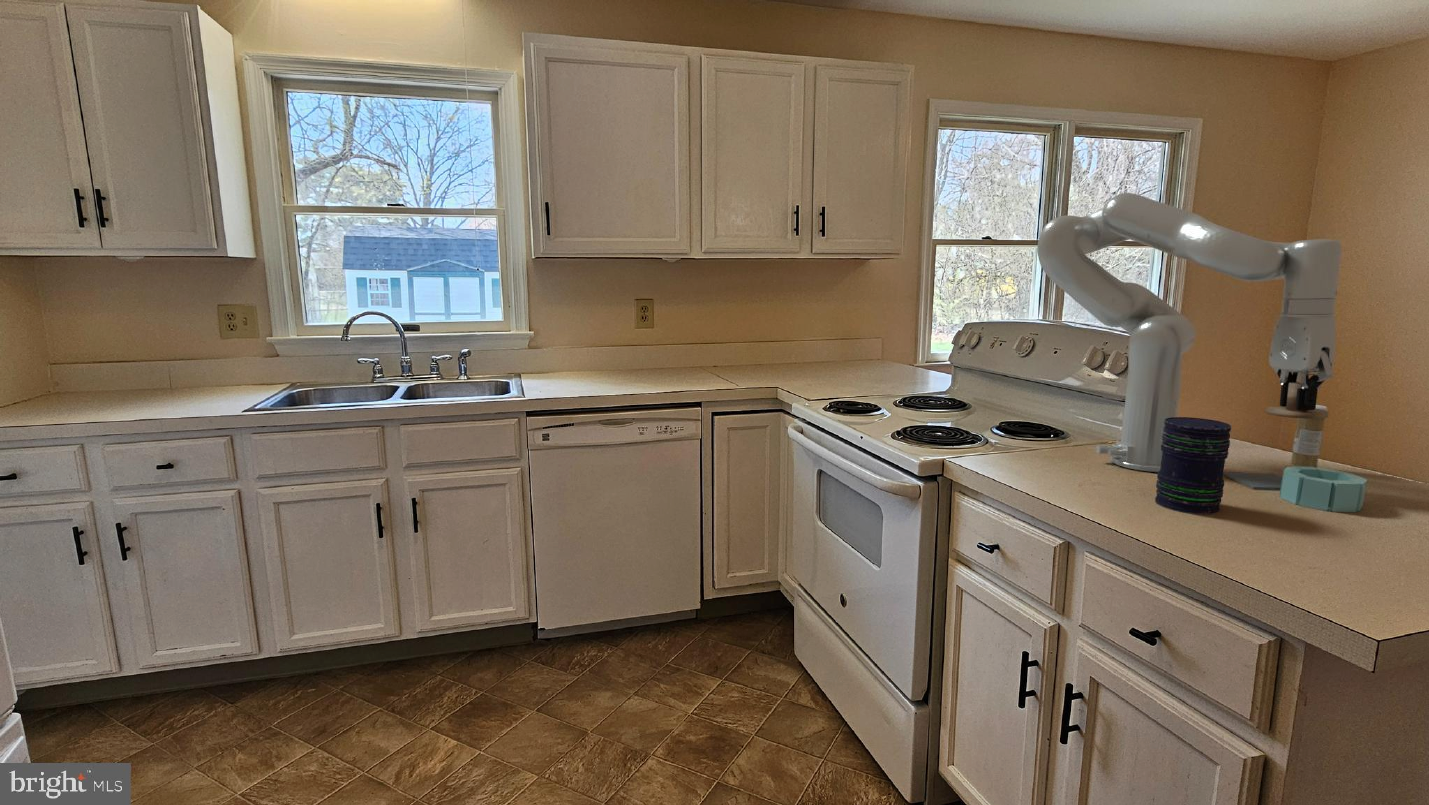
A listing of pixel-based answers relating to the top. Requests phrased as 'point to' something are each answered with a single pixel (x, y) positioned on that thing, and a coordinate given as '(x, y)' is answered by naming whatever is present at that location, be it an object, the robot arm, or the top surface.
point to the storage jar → (1192, 465)
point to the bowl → (1323, 489)
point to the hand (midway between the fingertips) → (1297, 407)
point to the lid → (1290, 407)
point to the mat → (1256, 480)
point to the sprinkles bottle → (1308, 441)
